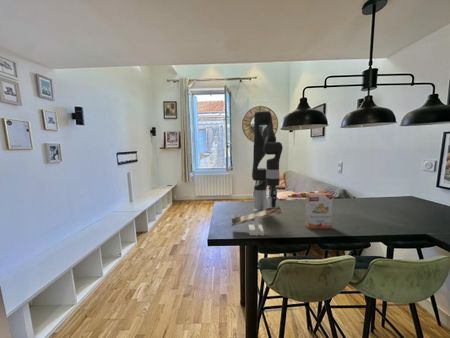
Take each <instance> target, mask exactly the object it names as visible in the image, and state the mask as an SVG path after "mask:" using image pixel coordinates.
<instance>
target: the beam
mask: <svg viewBox="0 0 450 338" xmlns="http://www.w3.org/2000/svg"><path fill="white" fill-rule="evenodd" d="M281 214H282V210H281V207H280V206H279V205H278V208H269V207H268V206H267V208H265V210H264V211H261V212H257V213H253V212H252V213H250V214H246V215H242V216H241V213H236V214H232V215H231V218H230V219H231V227H233V226H237V225H243V224H246V223H249V222H254V220H255V215H258V220H261V219H265V218H269V217H273V216H276V215H281Z"/></svg>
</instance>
